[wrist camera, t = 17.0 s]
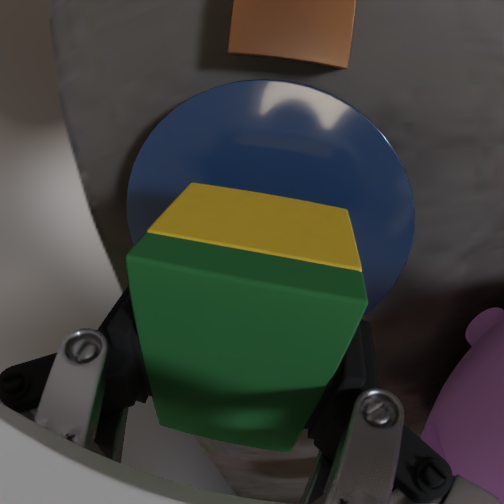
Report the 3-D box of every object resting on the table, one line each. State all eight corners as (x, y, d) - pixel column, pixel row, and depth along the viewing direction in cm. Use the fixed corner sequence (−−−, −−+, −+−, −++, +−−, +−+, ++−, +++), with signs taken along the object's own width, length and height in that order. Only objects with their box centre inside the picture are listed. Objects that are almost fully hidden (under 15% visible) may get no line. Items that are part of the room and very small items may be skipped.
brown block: (352, -2, 8) (357, -10, 7) (343, 70, 10) (347, 69, 9) (242, -16, 8) (236, -24, 7) (234, 54, 10) (226, 53, 9)
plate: (438, 117, 10) (451, 122, 9) (360, 340, 16) (362, 357, 15) (138, 72, 11) (123, 74, 10) (148, 301, 17) (139, 315, 16)
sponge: (348, 208, 9) (371, 303, 5) (298, 365, 12) (289, 453, 9) (191, 181, 9) (122, 255, 6) (191, 344, 13) (159, 425, 9)
